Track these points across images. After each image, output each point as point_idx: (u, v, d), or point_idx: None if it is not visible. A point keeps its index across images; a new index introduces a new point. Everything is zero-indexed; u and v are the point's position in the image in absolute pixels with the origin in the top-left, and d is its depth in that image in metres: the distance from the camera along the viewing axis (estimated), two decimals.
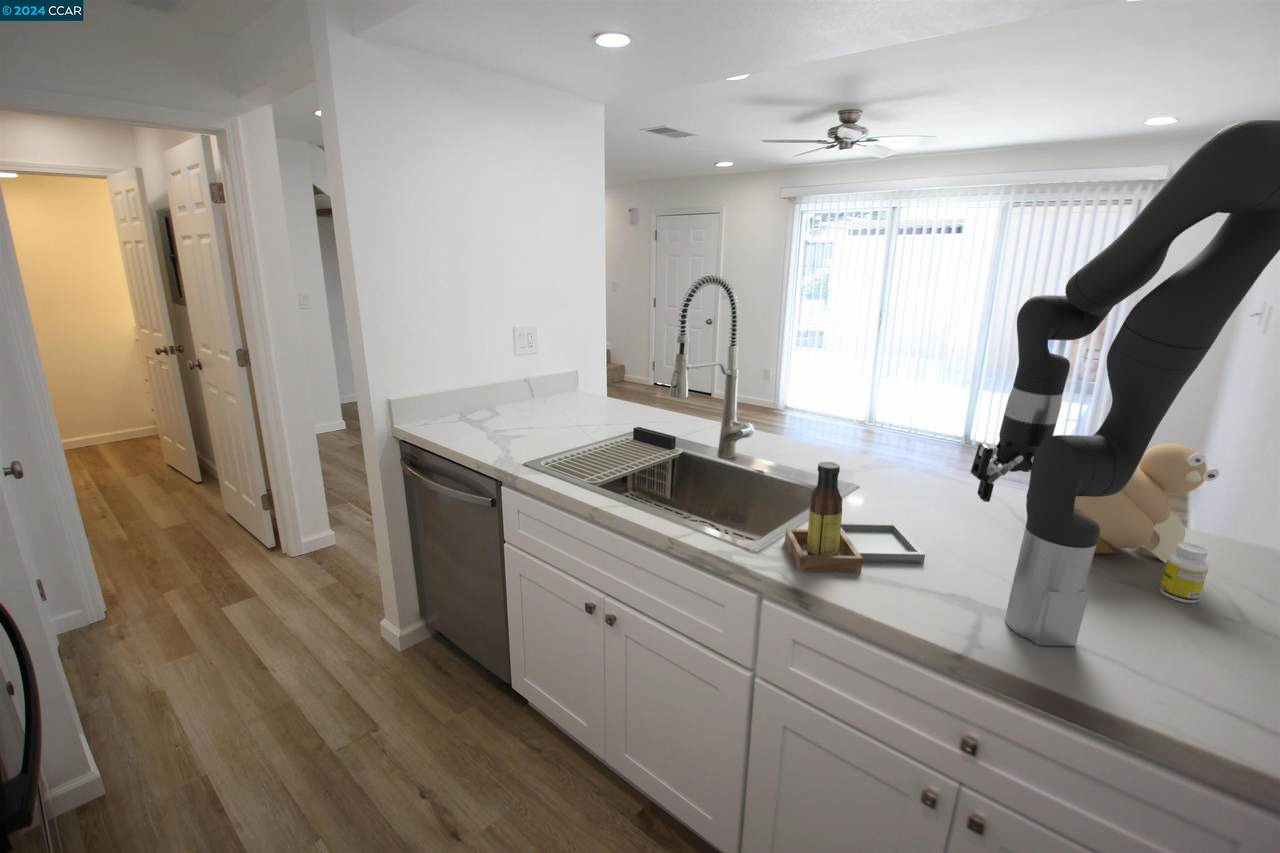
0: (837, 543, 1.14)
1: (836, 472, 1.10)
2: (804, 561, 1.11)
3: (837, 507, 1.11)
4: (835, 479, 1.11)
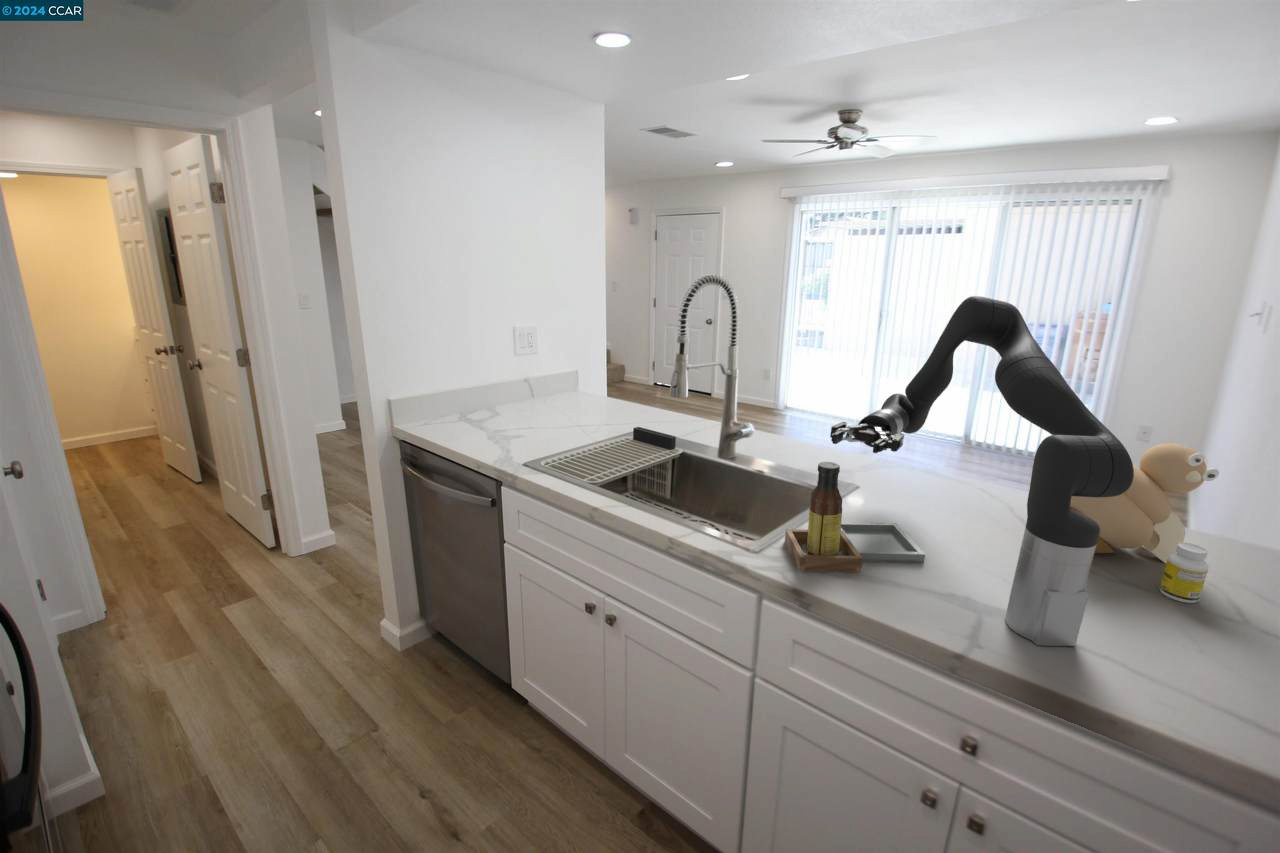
0: (837, 543, 1.14)
1: (836, 472, 1.10)
2: (804, 561, 1.11)
3: (837, 507, 1.11)
4: (835, 479, 1.11)
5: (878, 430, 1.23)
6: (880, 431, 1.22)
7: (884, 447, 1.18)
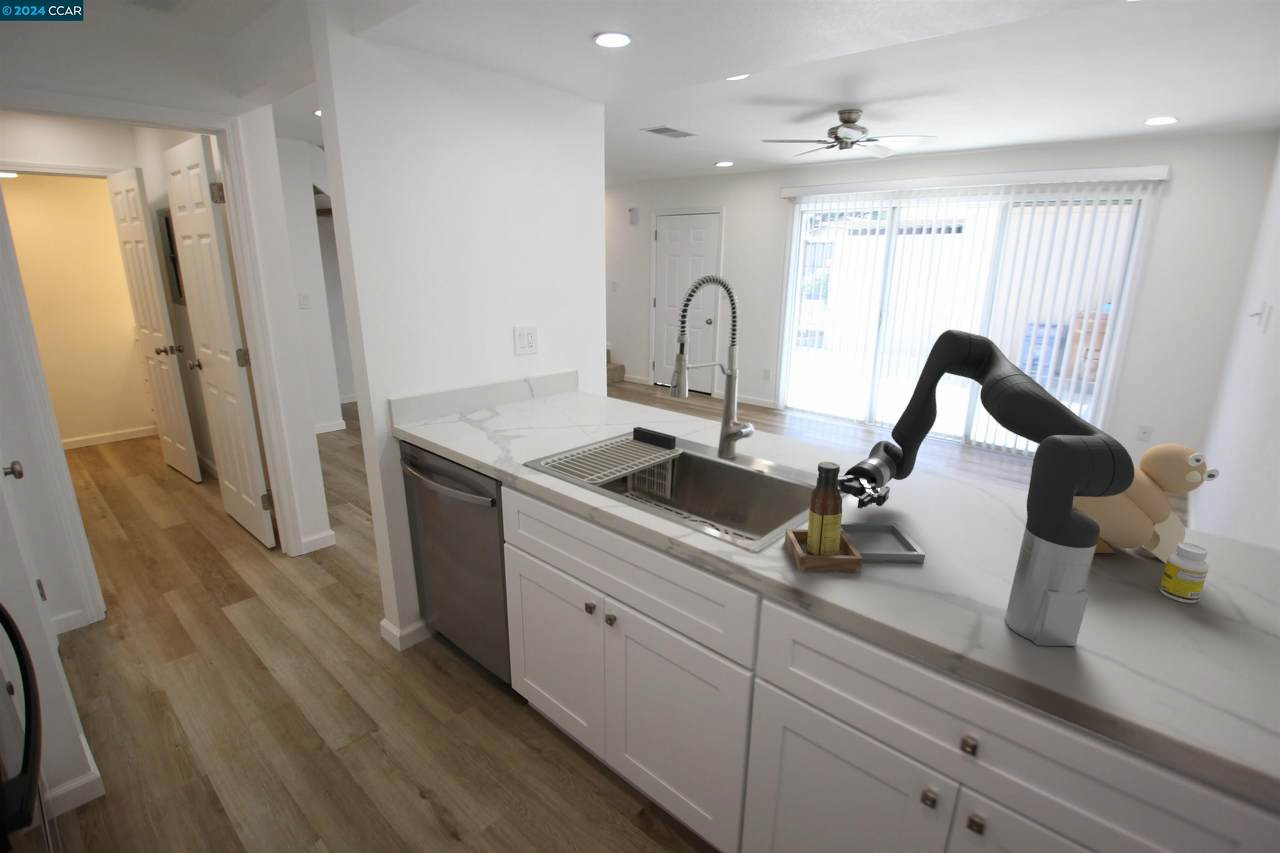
0: (837, 543, 1.14)
1: (836, 472, 1.10)
2: (804, 561, 1.11)
3: (837, 507, 1.11)
4: (836, 479, 1.11)
5: (864, 483, 1.22)
6: (865, 484, 1.22)
7: (869, 502, 1.17)
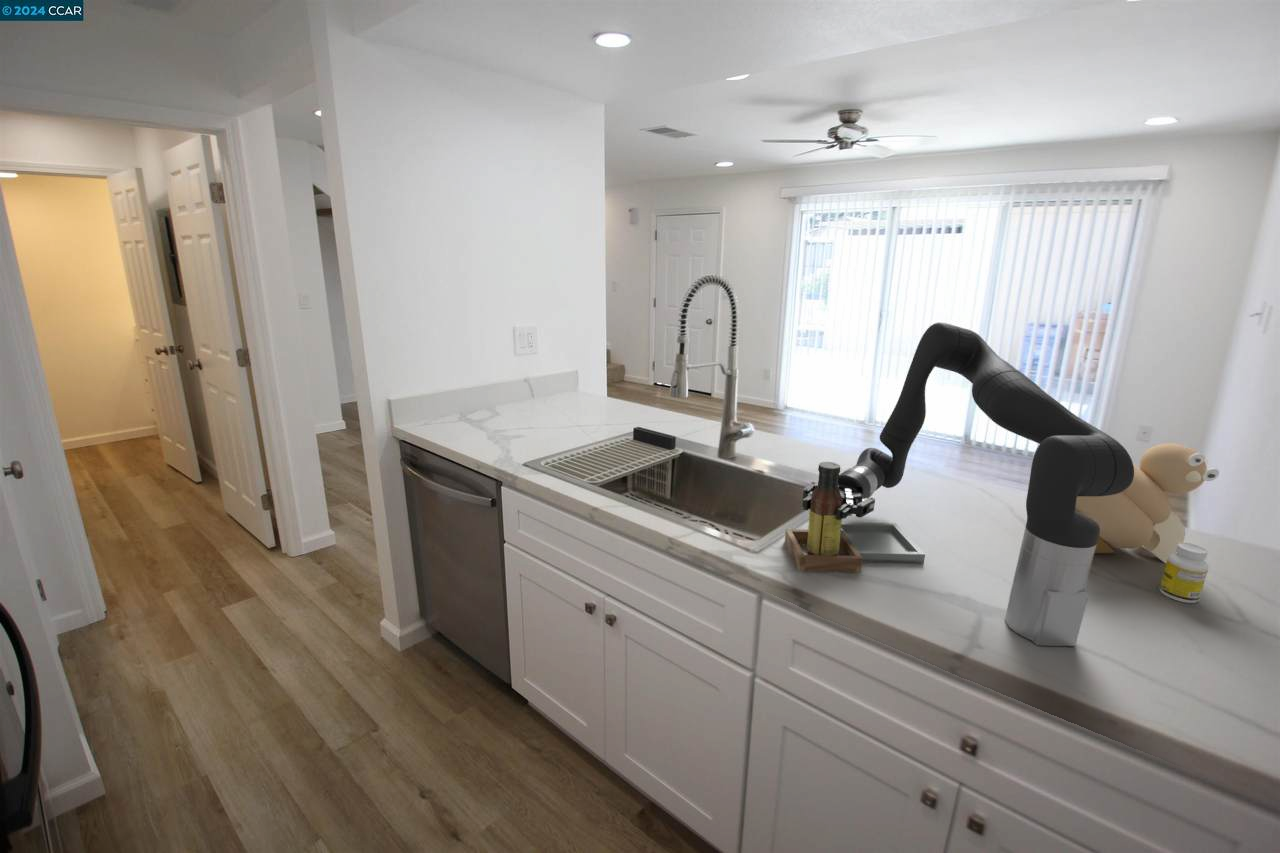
0: (837, 543, 1.14)
1: (836, 473, 1.10)
2: (804, 561, 1.11)
3: (837, 507, 1.11)
4: (836, 480, 1.11)
5: (847, 493, 1.17)
6: (848, 494, 1.16)
7: (848, 513, 1.12)
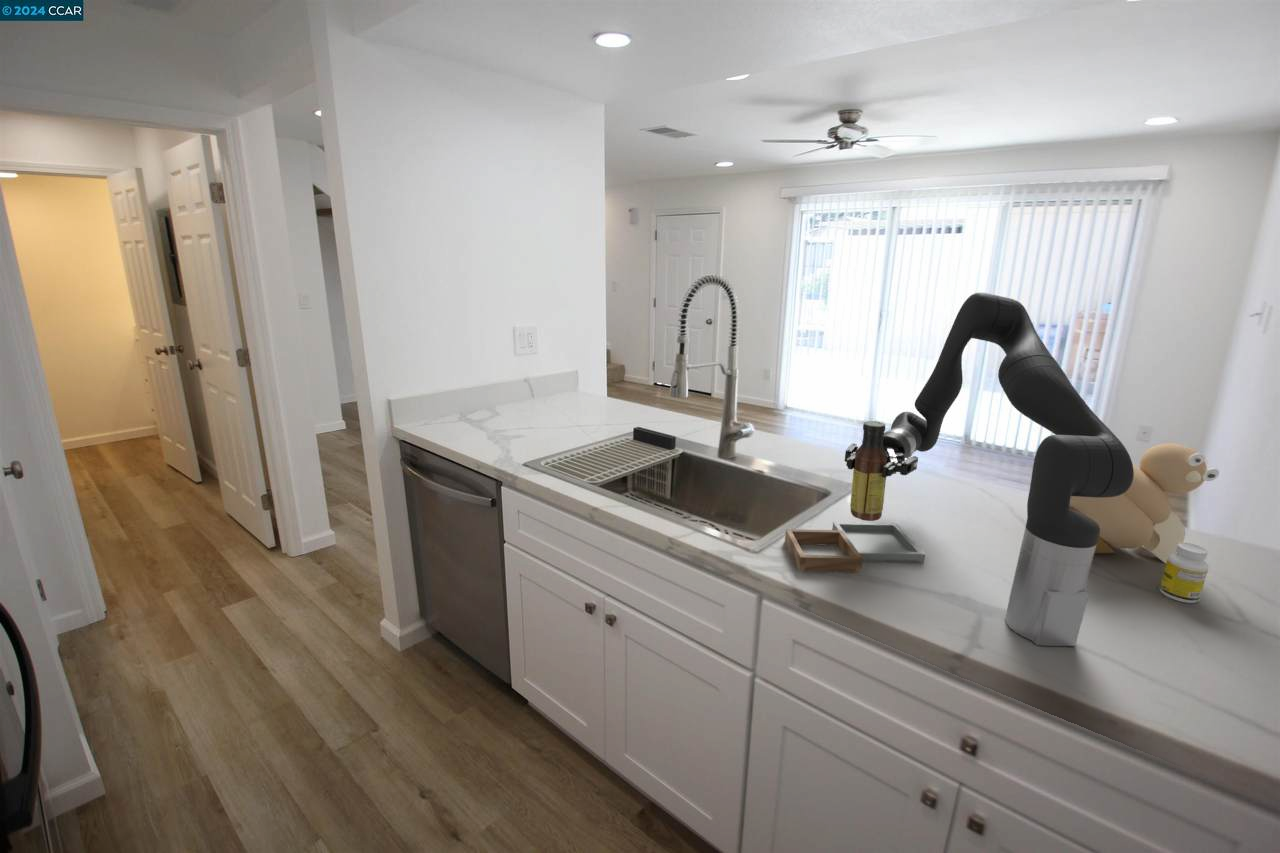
0: (882, 501, 1.15)
1: (882, 430, 1.11)
2: (804, 561, 1.11)
3: (883, 465, 1.12)
4: (881, 438, 1.12)
5: (890, 452, 1.18)
6: (891, 453, 1.17)
7: (893, 471, 1.13)
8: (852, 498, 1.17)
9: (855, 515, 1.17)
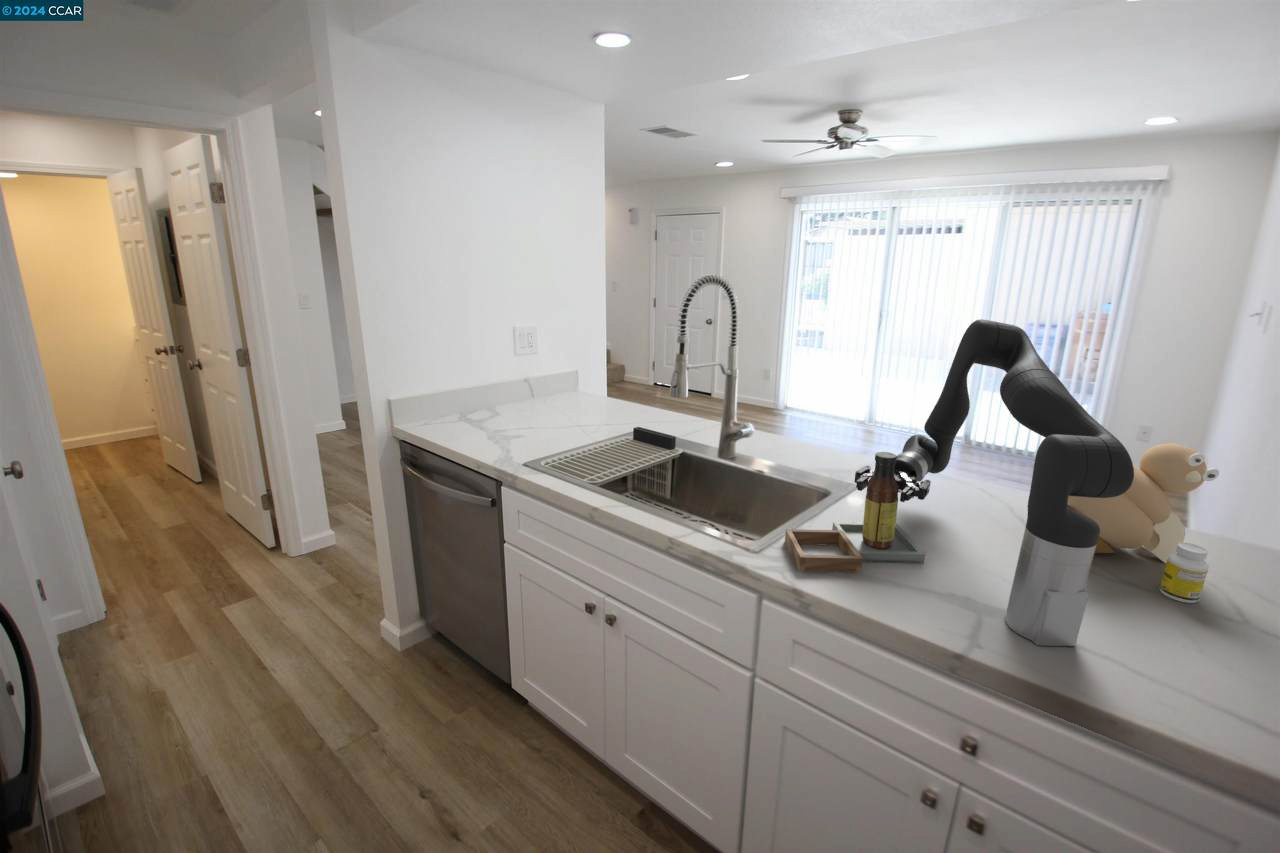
0: (893, 530, 1.19)
1: (893, 462, 1.15)
2: (804, 561, 1.11)
3: (894, 495, 1.16)
4: (893, 469, 1.16)
5: (904, 476, 1.21)
6: (906, 478, 1.20)
7: (911, 495, 1.16)
8: (864, 526, 1.21)
9: (867, 543, 1.20)
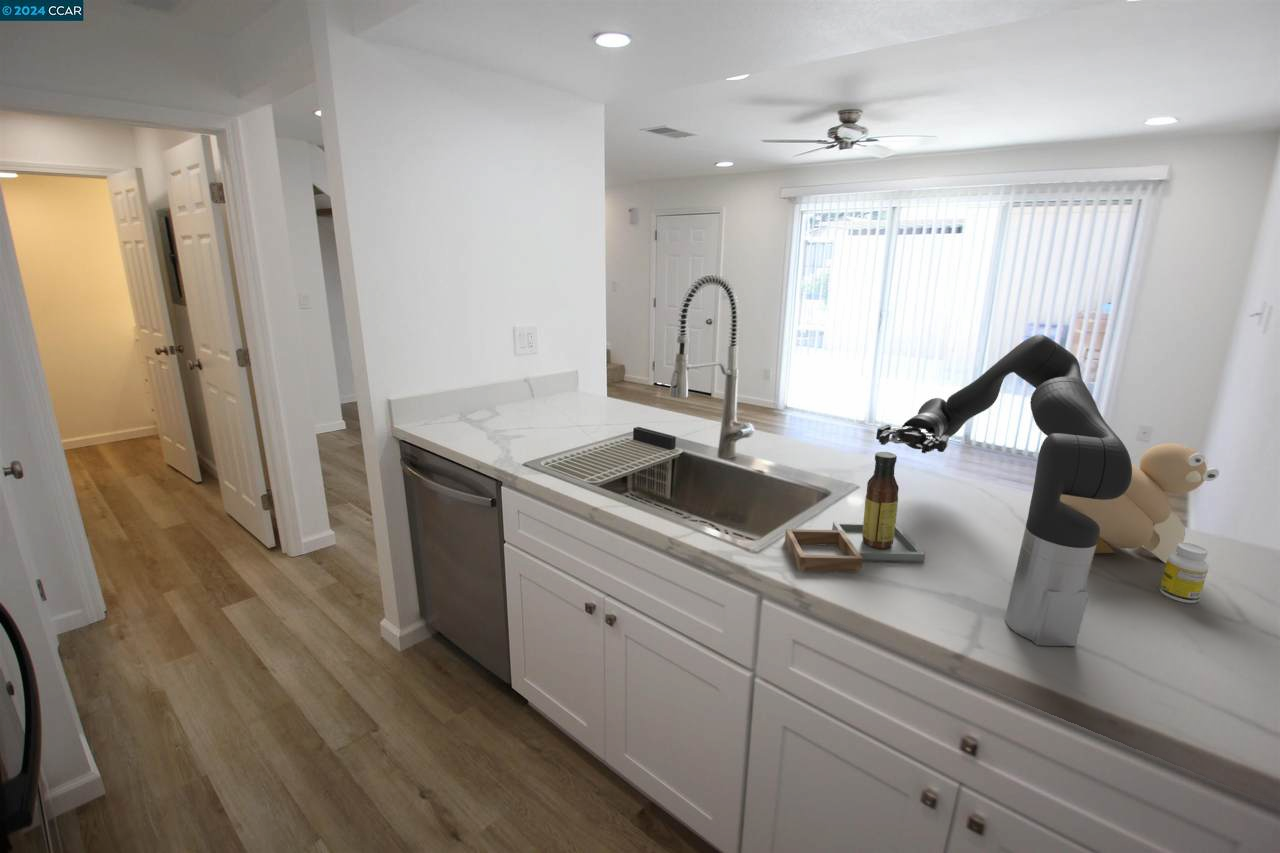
0: (893, 530, 1.19)
1: (893, 462, 1.15)
2: (804, 561, 1.11)
3: (894, 495, 1.16)
4: (893, 468, 1.16)
5: (924, 432, 1.28)
6: (926, 433, 1.27)
7: (932, 447, 1.23)
8: (864, 526, 1.21)
9: (867, 543, 1.20)
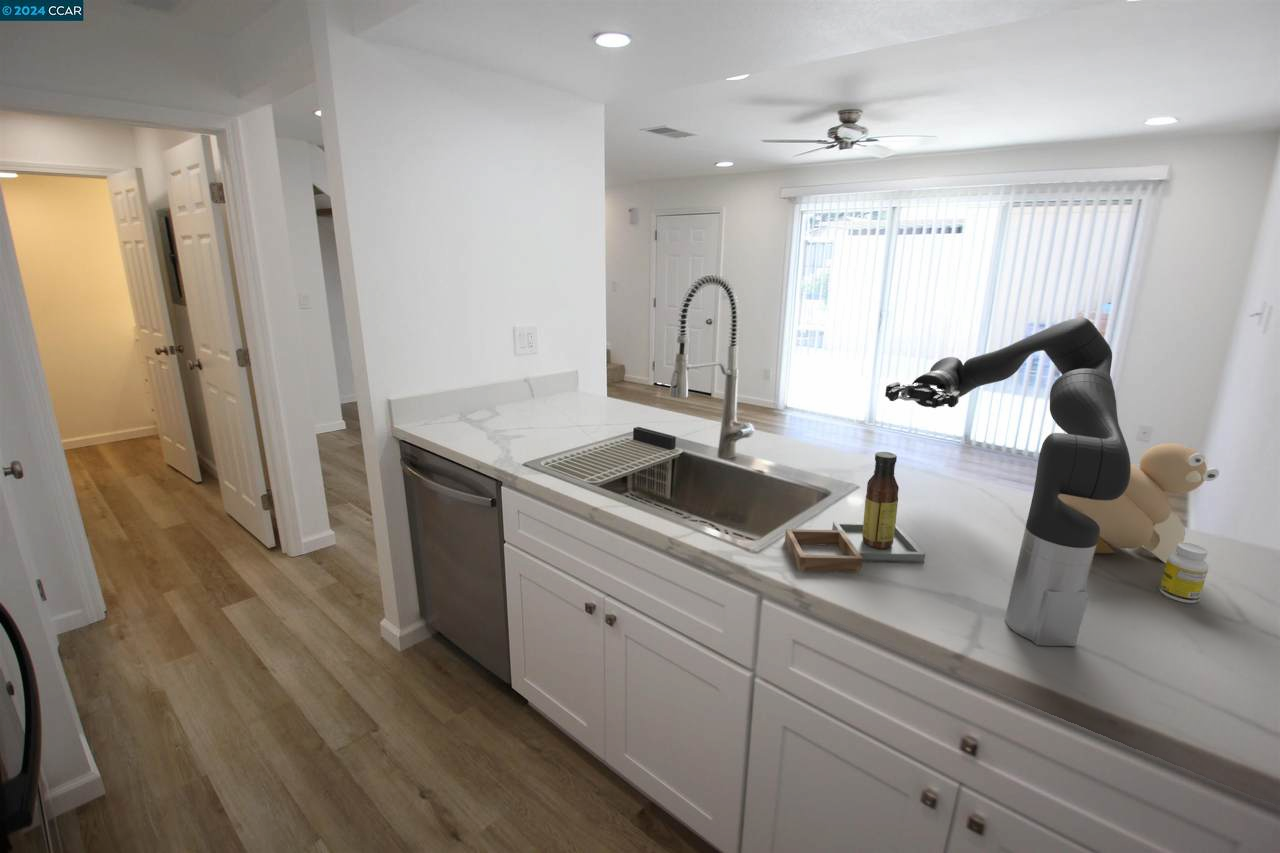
0: (893, 530, 1.19)
1: (893, 462, 1.15)
2: (804, 561, 1.11)
3: (894, 495, 1.16)
4: (893, 469, 1.16)
5: (934, 388, 1.25)
6: (936, 388, 1.25)
7: (942, 402, 1.21)
8: (864, 526, 1.21)
9: (867, 543, 1.20)
